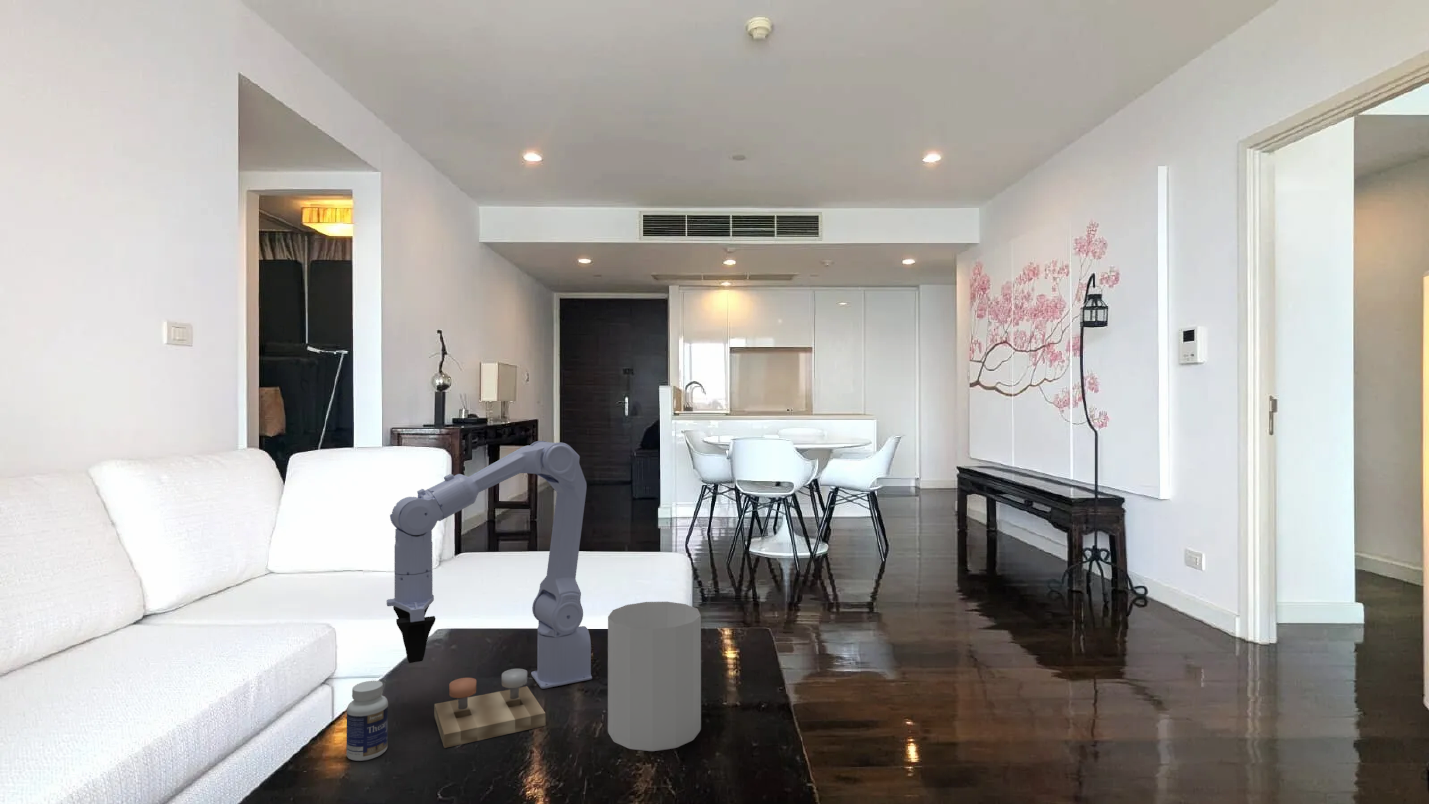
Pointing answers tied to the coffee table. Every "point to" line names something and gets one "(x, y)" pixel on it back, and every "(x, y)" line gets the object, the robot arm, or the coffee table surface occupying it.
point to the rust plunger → (462, 690)
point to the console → (487, 717)
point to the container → (654, 675)
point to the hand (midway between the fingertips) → (413, 653)
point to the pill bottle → (367, 722)
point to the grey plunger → (514, 681)
